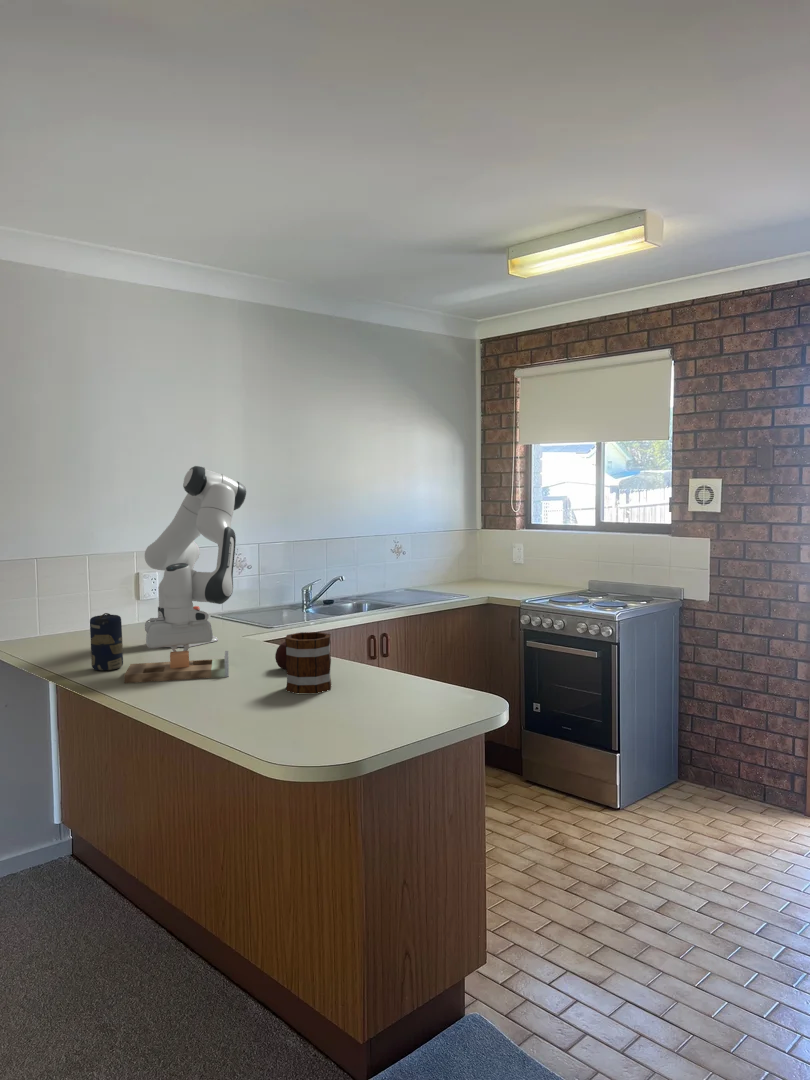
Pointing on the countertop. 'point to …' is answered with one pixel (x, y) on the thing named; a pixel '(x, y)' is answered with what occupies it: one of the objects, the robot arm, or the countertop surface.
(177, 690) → the countertop surface
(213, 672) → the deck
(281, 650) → the potato
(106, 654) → the canister
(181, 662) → the block
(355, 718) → the countertop surface
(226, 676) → the end stop
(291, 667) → the mug
